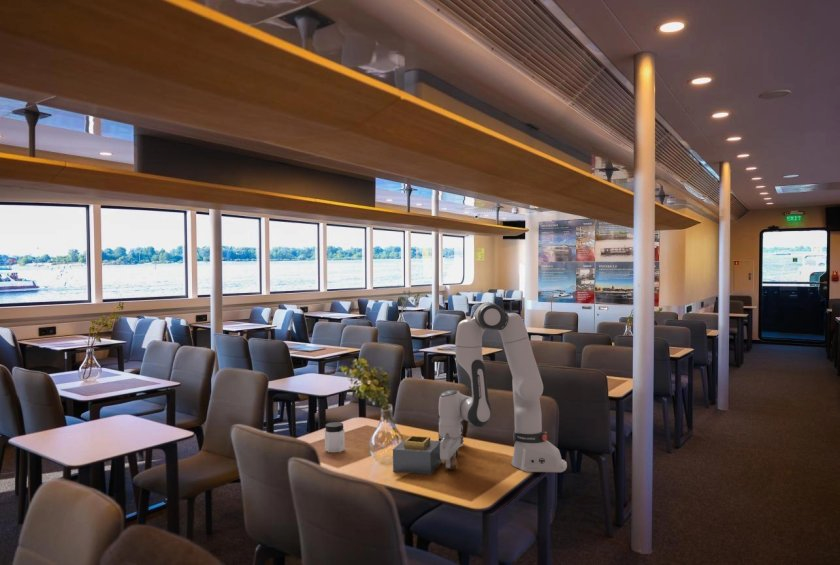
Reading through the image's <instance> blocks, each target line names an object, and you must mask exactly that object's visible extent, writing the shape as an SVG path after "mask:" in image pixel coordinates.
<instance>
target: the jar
mask: <svg viewBox="0 0 840 565" xmlns="http://www.w3.org/2000/svg"><path fill="white" fill-rule="evenodd" d="M324 428H325V429H324V451H325V450H326V452H327V451H328V452H327V453H329V452H339V453H342V452H343V451H345V450H346V447H345V446H346V442H345V440H346V439H345V429H344V423H342V422H339V421H336V422H335V421H334V422H328V423H326V424H325V427H324Z"/></svg>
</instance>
